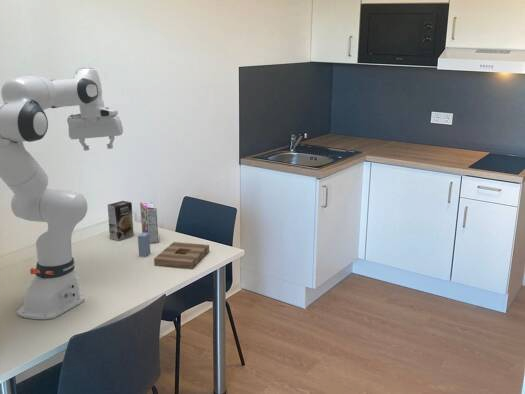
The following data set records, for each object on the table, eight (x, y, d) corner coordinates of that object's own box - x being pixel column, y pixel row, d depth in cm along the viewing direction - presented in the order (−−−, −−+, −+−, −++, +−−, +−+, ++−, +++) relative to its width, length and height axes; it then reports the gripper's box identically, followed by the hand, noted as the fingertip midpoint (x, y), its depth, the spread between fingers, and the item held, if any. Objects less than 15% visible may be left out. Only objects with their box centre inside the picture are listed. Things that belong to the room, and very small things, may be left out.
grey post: (145, 257, 232) (144, 236, 230) (139, 256, 233) (137, 235, 231) (150, 253, 236) (149, 233, 234) (143, 252, 237) (142, 232, 235)
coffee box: (118, 241, 251) (116, 206, 247) (109, 238, 255) (106, 204, 250) (134, 236, 258) (132, 202, 254) (125, 233, 262) (122, 200, 257)
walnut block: (192, 269, 219) (191, 262, 218) (154, 265, 223) (154, 258, 222) (209, 251, 238) (209, 244, 237) (174, 248, 242) (173, 241, 241)
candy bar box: (141, 236, 257) (139, 202, 252) (152, 235, 259) (150, 201, 254) (147, 244, 247) (145, 208, 243) (158, 242, 249) (157, 207, 245)
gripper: (62, 115, 207) (68, 152, 210) (115, 111, 205) (120, 148, 208) (70, 114, 213) (76, 150, 216) (121, 109, 211) (126, 146, 214)
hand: (98, 149), depth 212 cm, fingers open, 8 cm apart
